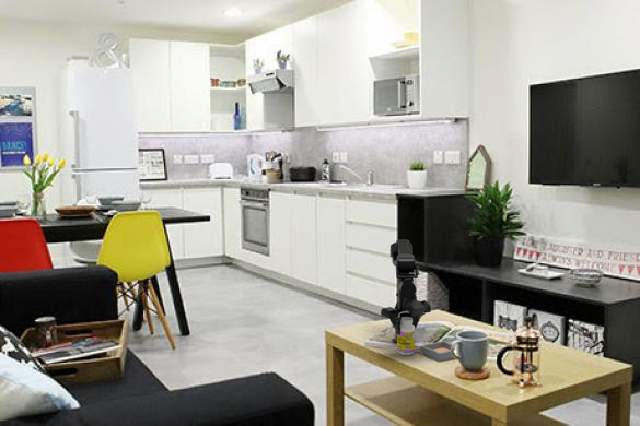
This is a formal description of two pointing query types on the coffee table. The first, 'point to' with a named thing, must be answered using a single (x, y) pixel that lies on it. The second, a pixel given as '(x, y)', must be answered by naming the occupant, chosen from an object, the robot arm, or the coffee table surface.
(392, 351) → the coffee table surface
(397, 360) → the coffee table surface
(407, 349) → the supplement bottle
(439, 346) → the walled box
